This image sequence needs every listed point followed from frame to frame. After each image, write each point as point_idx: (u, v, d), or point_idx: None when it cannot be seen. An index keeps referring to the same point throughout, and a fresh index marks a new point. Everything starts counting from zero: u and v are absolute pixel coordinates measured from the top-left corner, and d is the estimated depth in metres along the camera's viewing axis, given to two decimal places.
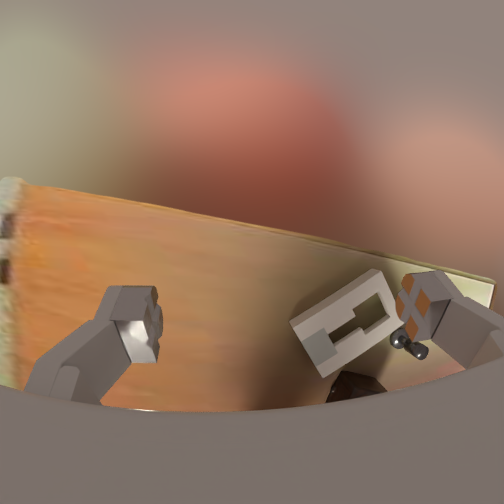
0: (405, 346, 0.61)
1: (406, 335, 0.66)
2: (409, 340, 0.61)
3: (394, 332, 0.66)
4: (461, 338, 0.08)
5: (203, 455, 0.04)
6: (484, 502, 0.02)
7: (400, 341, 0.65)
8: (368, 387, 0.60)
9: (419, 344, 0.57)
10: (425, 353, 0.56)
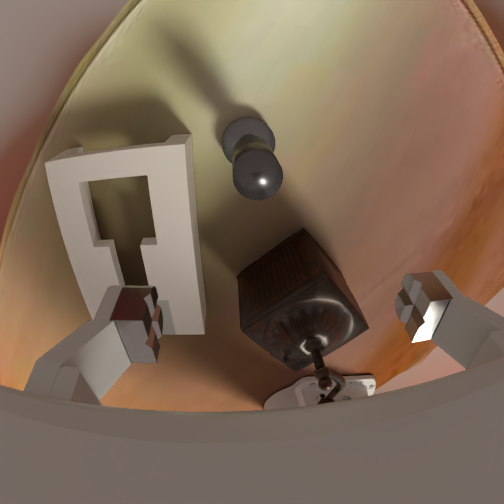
0: None
1: (249, 126, 0.27)
2: (232, 156, 0.24)
3: None
4: (461, 338, 0.08)
5: (203, 455, 0.04)
6: (484, 502, 0.02)
7: None
8: (272, 296, 0.30)
9: (234, 162, 0.20)
10: (267, 168, 0.19)
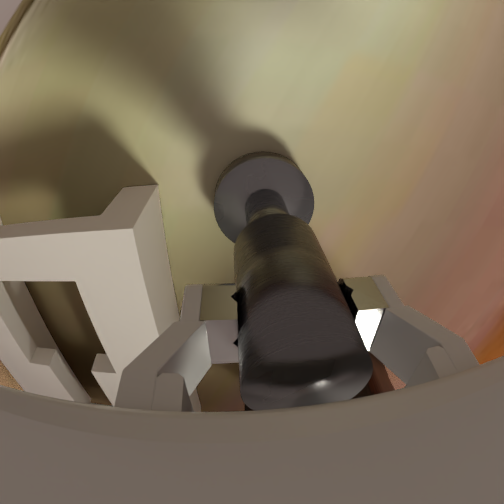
0: None
1: (267, 174, 0.14)
2: (234, 265, 0.11)
3: None
4: (400, 352, 0.08)
5: (203, 455, 0.04)
6: (484, 502, 0.02)
7: None
8: None
9: (242, 331, 0.08)
10: (338, 369, 0.06)
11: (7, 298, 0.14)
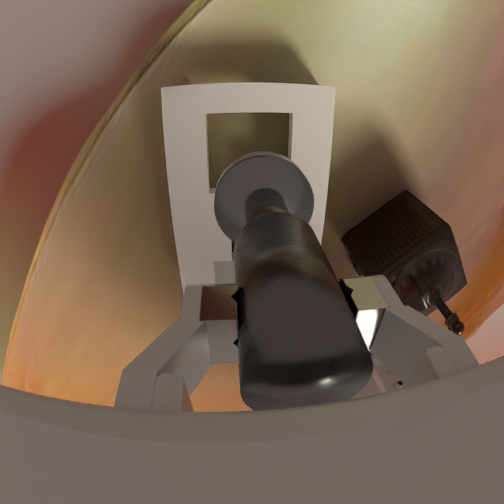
0: None
1: (267, 174, 0.14)
2: (234, 264, 0.11)
3: None
4: (400, 352, 0.08)
5: (203, 455, 0.04)
6: (484, 502, 0.02)
7: None
8: (398, 249, 0.28)
9: (242, 330, 0.08)
10: (338, 368, 0.06)
11: (207, 138, 0.25)
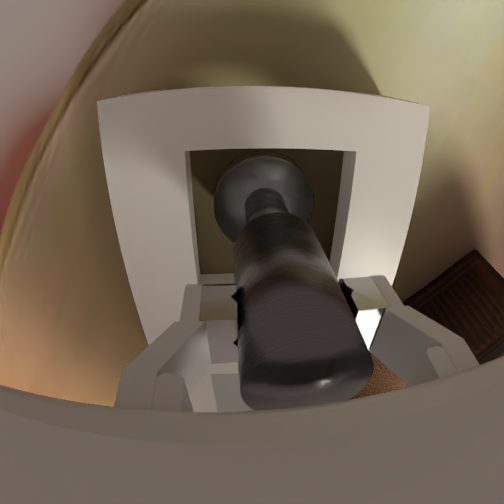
0: None
1: (267, 174, 0.14)
2: (234, 264, 0.11)
3: None
4: (400, 352, 0.08)
5: (203, 455, 0.04)
6: (484, 502, 0.02)
7: None
8: (470, 348, 0.17)
9: (242, 330, 0.07)
10: (338, 368, 0.06)
11: (191, 194, 0.14)
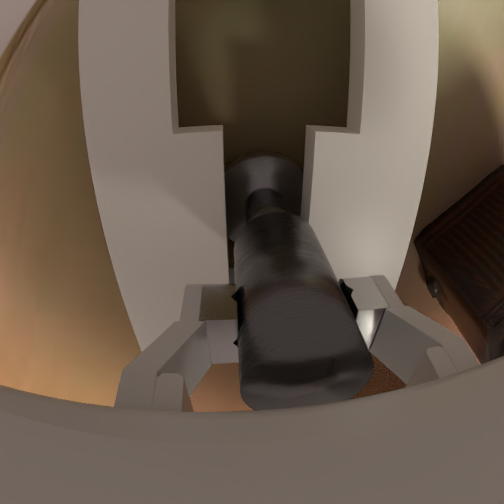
0: None
1: (267, 173, 0.14)
2: (234, 264, 0.11)
3: None
4: (400, 352, 0.08)
5: (203, 455, 0.04)
6: (484, 502, 0.02)
7: None
8: None
9: (242, 330, 0.07)
10: (338, 368, 0.06)
11: (174, 19, 0.09)
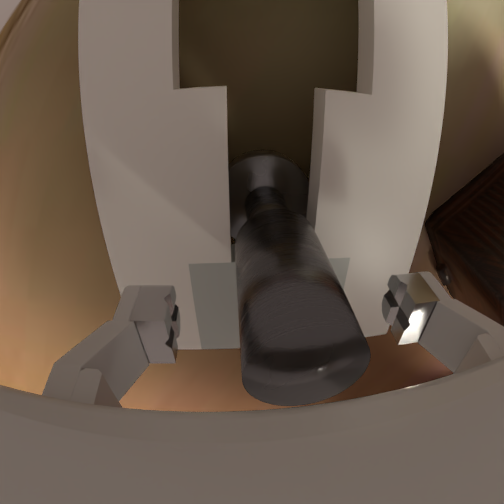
0: None
1: (267, 172, 0.15)
2: (235, 259, 0.11)
3: None
4: (448, 341, 0.08)
5: (203, 455, 0.04)
6: (484, 502, 0.02)
7: None
8: None
9: (243, 320, 0.08)
10: (336, 355, 0.07)
11: None
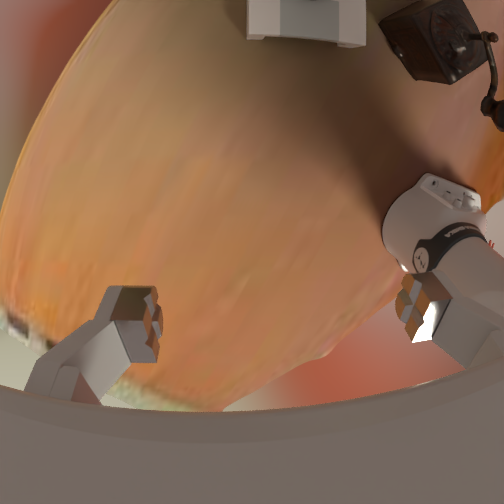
0: None
1: None
2: None
3: None
4: (461, 338, 0.08)
5: (203, 455, 0.04)
6: (484, 502, 0.02)
7: None
8: (425, 5, 0.23)
9: None
10: None
11: None
